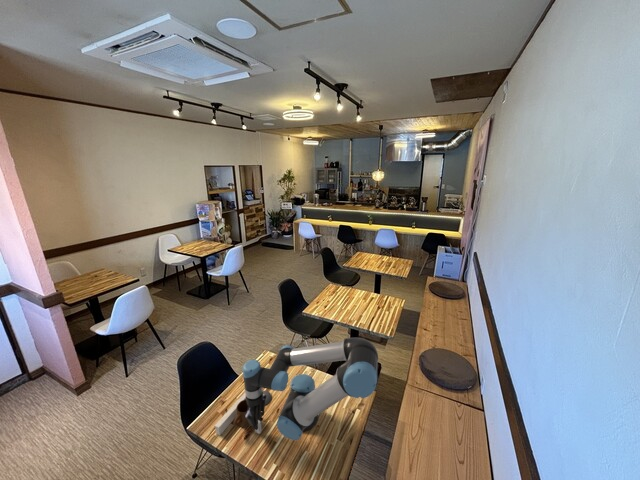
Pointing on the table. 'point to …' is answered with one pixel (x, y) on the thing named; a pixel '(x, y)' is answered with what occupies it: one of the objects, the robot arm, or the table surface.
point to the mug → (241, 414)
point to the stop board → (228, 417)
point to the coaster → (267, 397)
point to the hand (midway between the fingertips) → (258, 431)
